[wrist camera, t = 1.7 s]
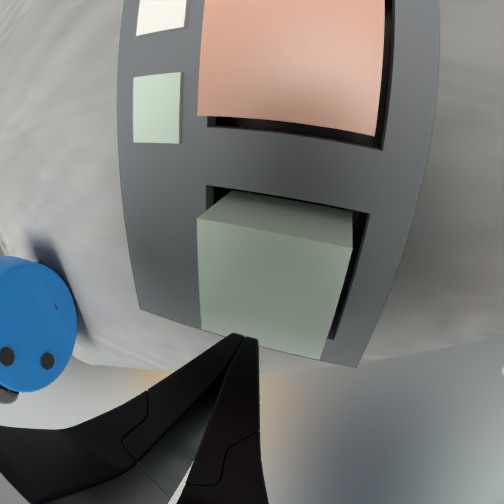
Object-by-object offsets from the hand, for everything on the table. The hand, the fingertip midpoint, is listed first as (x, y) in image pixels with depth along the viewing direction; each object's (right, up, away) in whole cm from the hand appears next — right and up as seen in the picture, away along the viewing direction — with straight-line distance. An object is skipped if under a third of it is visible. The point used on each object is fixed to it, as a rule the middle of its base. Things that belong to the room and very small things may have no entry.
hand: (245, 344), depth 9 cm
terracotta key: (+2, +11, +1) cm, 11 cm away
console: (+2, +12, +3) cm, 12 cm away
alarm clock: (-21, -1, +19) cm, 28 cm away
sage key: (+2, +3, +5) cm, 6 cm away
